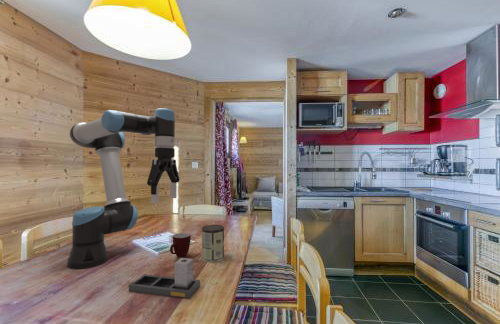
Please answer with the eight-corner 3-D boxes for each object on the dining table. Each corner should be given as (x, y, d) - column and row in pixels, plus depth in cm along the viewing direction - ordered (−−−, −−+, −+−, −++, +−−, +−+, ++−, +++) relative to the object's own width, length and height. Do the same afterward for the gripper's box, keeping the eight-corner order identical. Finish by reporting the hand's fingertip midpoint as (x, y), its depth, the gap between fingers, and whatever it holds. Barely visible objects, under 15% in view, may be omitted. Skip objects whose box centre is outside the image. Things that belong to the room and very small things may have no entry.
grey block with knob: (174, 292, 84) (174, 262, 84) (181, 286, 88) (181, 257, 88) (187, 294, 83) (187, 263, 83) (193, 287, 87) (193, 258, 87)
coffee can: (209, 252, 123) (210, 223, 123) (228, 256, 118) (228, 226, 118) (196, 260, 113) (197, 228, 113) (216, 264, 109) (216, 231, 109)
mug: (179, 263, 110) (179, 240, 110) (164, 260, 113) (165, 238, 113) (194, 255, 119) (194, 234, 119) (180, 252, 123) (180, 232, 123)
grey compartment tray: (128, 292, 85) (128, 285, 85) (144, 281, 93) (144, 274, 93) (189, 300, 80) (189, 292, 80) (200, 287, 89) (200, 280, 89)
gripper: (155, 145, 88) (155, 205, 88) (187, 149, 113) (187, 196, 113) (136, 145, 90) (136, 205, 90) (172, 149, 114) (171, 195, 114)
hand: (164, 200), depth 101 cm, fingers open, 13 cm apart
